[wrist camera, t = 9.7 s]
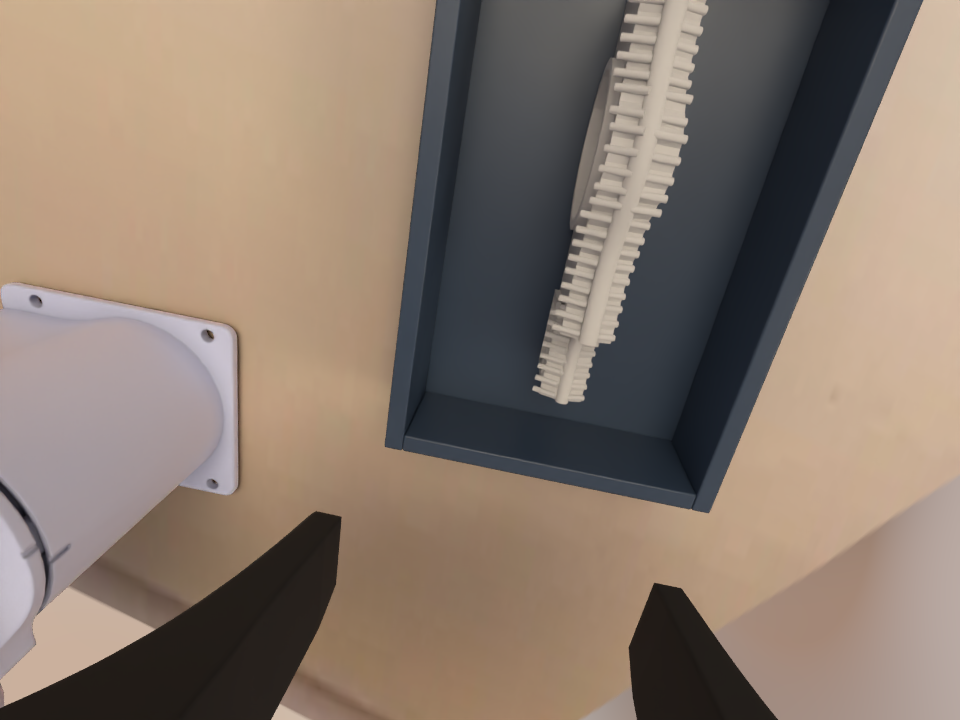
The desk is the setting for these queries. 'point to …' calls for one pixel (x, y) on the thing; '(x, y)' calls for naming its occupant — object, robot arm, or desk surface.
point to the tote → (663, 257)
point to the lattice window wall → (620, 183)
